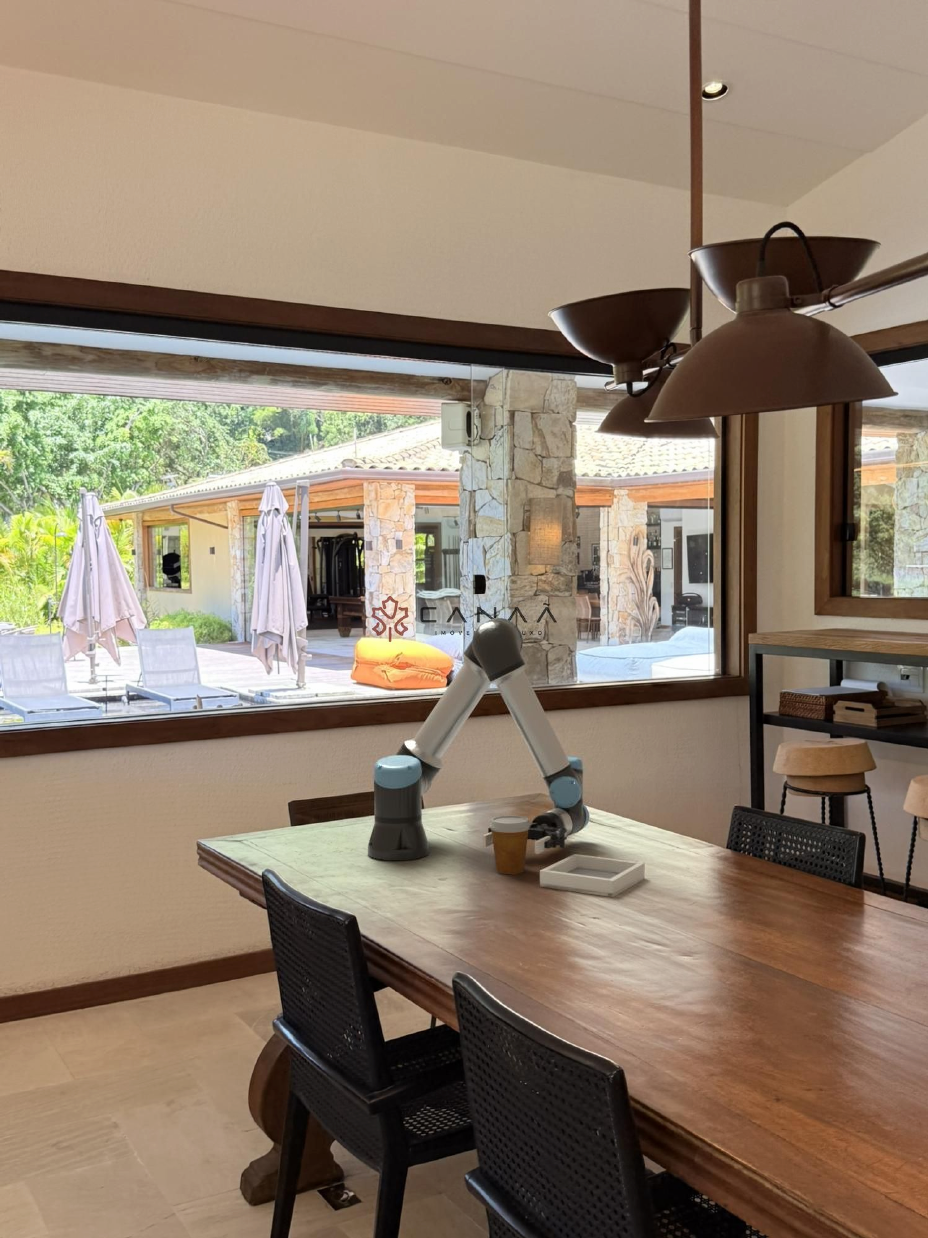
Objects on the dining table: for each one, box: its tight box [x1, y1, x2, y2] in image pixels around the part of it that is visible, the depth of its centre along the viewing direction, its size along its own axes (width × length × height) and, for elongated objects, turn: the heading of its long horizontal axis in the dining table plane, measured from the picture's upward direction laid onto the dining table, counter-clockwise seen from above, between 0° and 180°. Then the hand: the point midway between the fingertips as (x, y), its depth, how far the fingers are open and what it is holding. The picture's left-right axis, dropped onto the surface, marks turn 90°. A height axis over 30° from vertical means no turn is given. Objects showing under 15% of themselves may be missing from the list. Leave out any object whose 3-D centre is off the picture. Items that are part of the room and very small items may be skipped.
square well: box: [539, 853, 646, 898], centre depth 257 cm, size 17×17×4 cm
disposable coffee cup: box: [488, 815, 530, 875], centre depth 268 cm, size 10×10×12 cm
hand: (509, 844), depth 267 cm, fingers open, 13 cm apart
